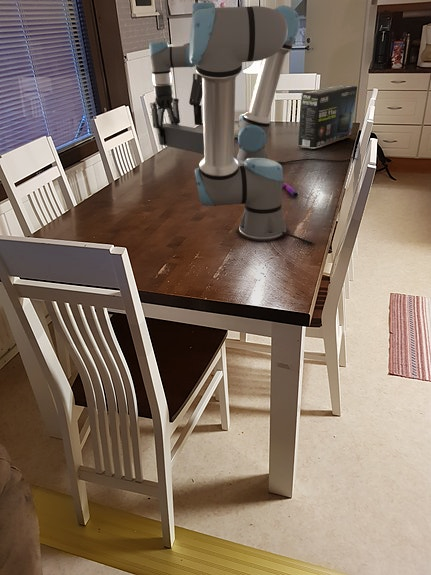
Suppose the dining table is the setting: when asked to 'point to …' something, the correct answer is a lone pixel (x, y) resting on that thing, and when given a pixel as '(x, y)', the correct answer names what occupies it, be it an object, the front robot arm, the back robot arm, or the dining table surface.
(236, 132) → the fossil
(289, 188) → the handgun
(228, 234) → the dining table surface
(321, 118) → the router box
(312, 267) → the dining table surface
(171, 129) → the bar
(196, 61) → the front robot arm
